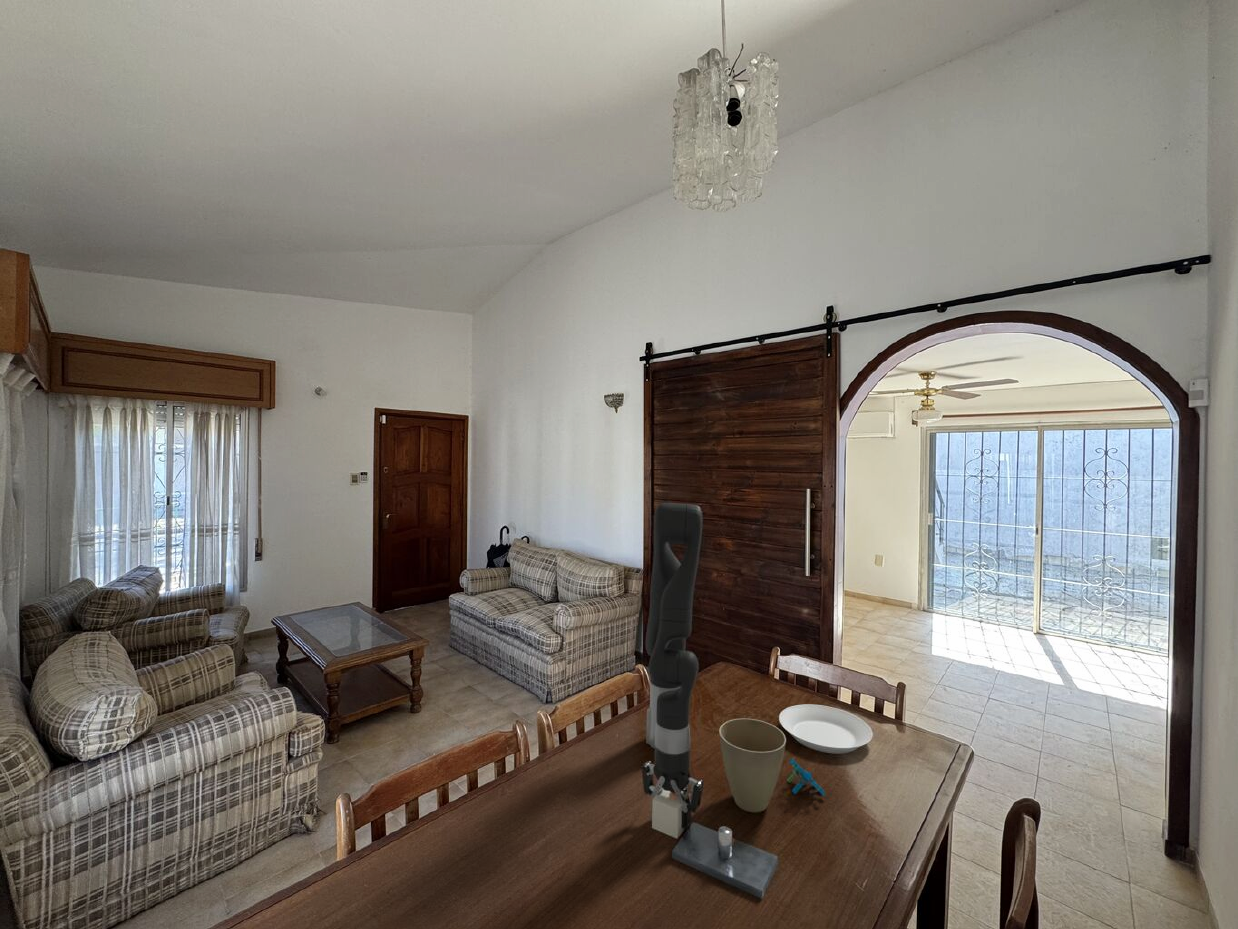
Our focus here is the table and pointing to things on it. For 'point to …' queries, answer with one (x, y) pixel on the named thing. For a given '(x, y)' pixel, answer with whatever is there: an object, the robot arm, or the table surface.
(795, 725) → the bowl
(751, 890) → the panel
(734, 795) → the plant pot
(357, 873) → the table surface
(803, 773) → the gear
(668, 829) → the white and orange block
